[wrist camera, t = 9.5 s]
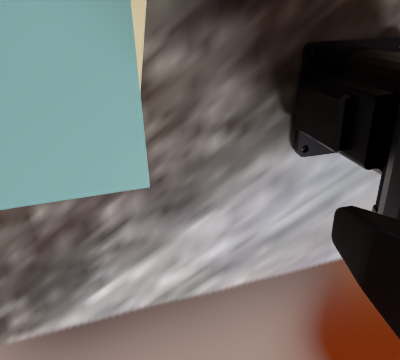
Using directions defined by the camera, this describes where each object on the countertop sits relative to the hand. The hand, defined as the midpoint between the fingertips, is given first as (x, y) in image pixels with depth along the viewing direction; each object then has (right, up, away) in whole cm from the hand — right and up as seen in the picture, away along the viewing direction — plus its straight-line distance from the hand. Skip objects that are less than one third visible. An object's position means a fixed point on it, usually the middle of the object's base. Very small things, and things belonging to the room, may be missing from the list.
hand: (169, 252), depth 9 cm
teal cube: (-5, +6, +5) cm, 10 cm away
